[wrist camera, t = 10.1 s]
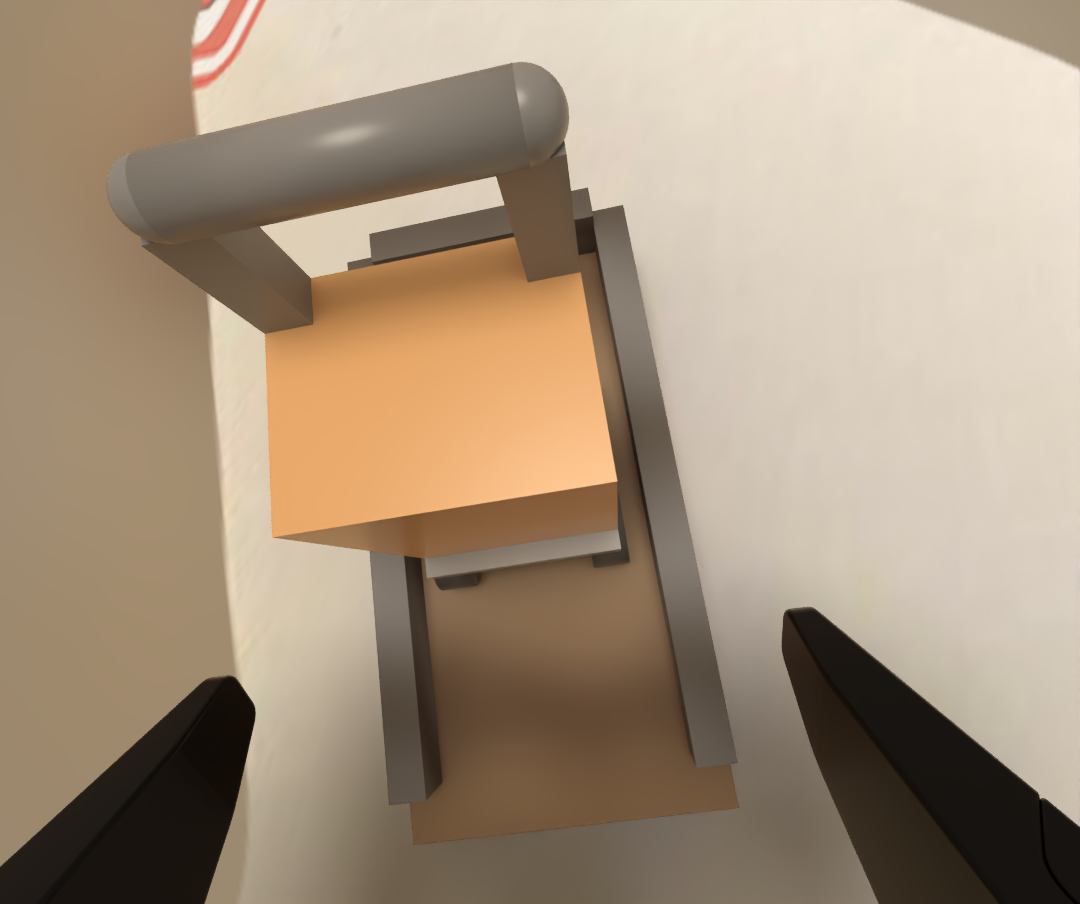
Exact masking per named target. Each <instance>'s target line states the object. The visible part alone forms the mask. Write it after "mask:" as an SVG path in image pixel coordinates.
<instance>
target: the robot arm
mask: <svg viewBox="0 0 1080 904" xmlns="http://www.w3.org/2000/svg"><path fill="white" fill-rule="evenodd" d="M782 653H783V657H784V661H785V664H786V668H787V671H788V674H789V677H790V680H791V683H792V687H793V690H794V693H795V696H796V699H797V702H798V706H799V709H800V712H801V715H802V718H803V722H804V725H805V728H806V731H807V734H808V737H809V741H810V744H811V747H812V750H813V753H814V755H815V758H816V761H817V763H818V766H819V768H820V771H821V773H822V775H823V778H824V780H825V782H826V784H827V787H828V789H829V791H830V794H831V796H832V798H833V800H834V803H835V805H836V807H837V810H838V812H839V814H840V816H841V819H842V821H843V823H844V826H845V828H846V830H847V832H848V835H849V837H850V839H851V842H852V844H853V846H854V848H855V851H856V853H857V855H858V857H859V860H860V862H861V864H862V867H863V869H864V871H865V873H866V876H867V878H868V880H869V883H870V885H871V887H872V889H873V892H874V894H875V896H876V899H877V901H878V903H879V904H1080V827H1079V826H1078V825H1077V824H1076V823H1074V822H1073V821H1072V820H1071V819H1070V818H1068V817H1067V816H1066V815H1065V814H1063V813H1062V812H1061V811H1060V810H1059V809H1057V808H1056V807H1055V806H1054V805H1053V804H1051V803H1050V802H1049V801H1048V800H1046V799H1044V798H1041V799H1040V798H1039V794H1038V792H1036V791H1035V790H1034V789H1033V788H1032V787H1030V786H1029V785H1028V784H1027V783H1026V782H1024V781H1023V780H1022V779H1021V778H1020V777H1018V776H1017V775H1016V774H1015V773H1013V772H1012V771H1011V770H1010V769H1009V768H1007V767H1006V766H1005V765H1004V764H1003V763H1001V762H1000V761H999V760H998V759H997V758H995V757H994V756H993V755H992V754H990V753H989V752H988V751H987V750H986V749H984V748H983V747H982V746H981V745H980V744H978V743H977V742H976V741H975V740H974V739H972V738H971V737H970V736H969V735H967V734H966V733H965V732H964V731H963V730H961V729H960V728H959V727H958V726H957V725H955V724H954V723H953V722H952V721H951V720H949V719H948V718H947V717H946V716H944V715H943V714H942V713H941V712H940V711H938V710H937V709H936V708H935V707H934V706H932V705H931V704H930V703H929V702H928V701H926V700H925V699H924V698H923V697H921V696H920V695H919V694H918V693H917V692H915V691H914V690H913V689H912V688H911V687H909V686H908V685H907V684H906V683H905V682H903V681H902V680H901V679H900V678H898V677H897V676H896V675H895V674H894V673H892V672H891V671H890V670H889V669H888V668H886V667H885V666H884V665H883V664H882V663H880V662H879V661H878V660H877V659H875V658H874V657H873V656H872V655H871V654H869V653H868V652H867V651H866V650H865V649H863V648H862V647H861V646H860V645H859V644H857V643H856V642H855V641H854V640H852V639H851V638H850V637H849V636H848V635H846V634H845V633H844V632H843V631H842V630H840V629H839V628H838V627H837V626H836V625H834V624H833V623H832V622H831V621H829V620H828V619H827V618H826V617H825V616H823V615H822V614H821V613H820V612H819V611H817V610H816V609H814V608H812V607H802V608H793V609H788V610H786V611H785V613H784V616H783V631H782ZM255 715H256V712H255V706H254V704H253V702H252V700H251V699H250V697H249V696H248V694H247V693H246V691H245V690H244V689H243V687H242V686H241V684H240V683H239V681H238V680H237V679H236V678H235V677H233V676H231V675H227V676H218V677H211V678H208V679H206V680H205V681H203V682H202V683H201V684H200V685H199V686H198V687H196V688H195V690H193V691H192V692H191V693H190V694H189V695H188V696H187V697H186V698H185V699H183V700H182V701H181V702H180V703H179V704H178V705H177V706H176V707H175V708H173V710H171V711H170V712H169V713H168V714H167V715H166V716H165V717H164V718H163V719H162V720H160V721H159V722H158V723H157V724H156V725H155V726H154V727H153V728H152V729H151V730H149V731H148V732H147V733H146V734H145V735H144V736H143V737H142V738H141V739H140V740H138V741H137V742H136V743H135V744H134V745H133V746H132V747H131V748H130V749H129V750H128V751H126V752H125V753H124V754H123V755H122V756H121V757H120V758H119V759H118V760H117V761H116V762H114V763H113V764H112V765H111V766H110V767H109V768H108V769H107V770H106V771H105V772H103V773H102V774H101V775H100V776H99V777H98V778H97V779H96V780H95V781H94V782H93V783H91V785H89V786H88V787H87V788H86V789H85V790H84V791H83V792H82V793H80V794H79V795H78V796H77V797H76V798H75V799H74V800H73V801H72V802H71V803H70V804H68V805H67V806H66V807H65V808H64V809H63V810H62V811H61V812H60V813H59V814H57V815H56V816H55V817H54V818H53V819H52V820H51V821H50V822H49V823H48V824H47V825H45V826H44V827H43V828H42V829H41V830H40V831H39V832H38V833H37V834H36V835H35V836H33V837H32V838H31V839H30V840H29V841H28V842H27V843H26V844H25V845H24V846H22V847H21V848H20V849H19V850H18V851H17V852H16V853H15V854H14V855H13V856H11V858H9V859H8V860H7V861H6V862H5V863H4V864H3V865H2V866H1V867H0V904H204V903H205V901H206V898H207V894H208V891H209V888H210V885H211V882H212V879H213V876H214V873H215V870H216V867H217V864H218V861H219V857H220V855H221V851H222V848H223V845H224V842H225V839H226V836H227V833H228V830H229V827H230V823H231V820H232V817H233V813H234V810H235V806H236V801H237V798H238V793H239V789H240V785H241V780H242V776H243V771H244V767H245V762H246V758H247V754H248V749H249V745H250V740H251V736H252V731H253V727H254V722H255Z"/></svg>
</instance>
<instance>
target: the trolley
mask: <svg viewBox="0 0 1080 904" xmlns="http://www.w3.org/2000/svg"><path fill="white" fill-rule="evenodd" d="M568 123H569V108H568V103H567V99H566V96H565V94H564V91H563V89H562V87H561V86H560V84H559V83H558V81H557V80H556V78H555V77H554V76H553V75H552V74H551V73H550V72H548V71H547V70H545V69H544V68H542V67H541V66H538V65H535V64H533V63H527V62H516V63H510V64H506V65H501V66H497V67H493V68H488V69H484V70H480V71H475V72H471V73H467V74H462V75H458V76H454V77H449V78H445V79H441V80H436V81H432V82H428V83H423V84H419V85H415V86H411V87H406V88H402V89H398V90H393V91H389V92H385V93H380V94H376V95H372V96H367V97H363V98H359V99H354V100H350V101H346V102H341V103H337V104H333V105H328V106H324V107H320V108H315V109H311V110H307V111H302V112H298V113H294V114H289V115H285V116H281V117H276V118H272V119H268V120H263V121H259V122H255V123H250V124H246V125H242V126H237V127H233V128H229V129H224V130H220V131H216V132H211V133H207V134H203V135H198V136H194V137H190V138H186V139H181V140H177V141H173V142H168V143H164V144H160V145H156V146H151V147H147V148H142V149H138V150H134V151H132V152H129V153H127V154H124V155H123V156H122V157H120V158H119V159H118V160H117V161H116V162H115V163H114V164H113V166H112V167H111V169H110V171H109V173H108V177H107V182H106V190H107V197H108V201H109V204H110V206H111V208H112V210H113V212H114V213H115V215H116V216H117V218H118V219H119V220H120V221H121V222H122V223H123V224H124V226H125V227H127V228H128V229H129V230H130V231H131V232H133V233H135V234H136V235H138V236H140V237H141V246H142V247H144V248H145V249H146V250H148V251H149V252H151V253H152V254H153V255H155V256H156V257H158V258H159V259H161V260H162V261H163V262H165V263H166V264H168V265H169V266H170V267H172V268H173V269H175V270H176V271H177V272H179V273H180V274H182V275H183V276H184V277H186V278H187V279H189V280H190V281H191V282H193V283H194V284H196V285H197V286H198V287H200V288H201V289H203V290H204V291H205V292H207V293H208V294H210V295H211V296H212V297H214V298H215V299H217V300H218V301H219V302H221V303H222V304H224V305H225V306H227V307H228V308H229V309H231V310H232V311H234V312H235V313H236V314H238V315H239V316H241V317H242V318H243V319H245V320H246V321H248V322H249V323H250V324H252V325H253V326H255V327H256V328H257V329H259V330H260V331H262V332H263V333H264V334H265V347H266V375H267V404H268V432H269V460H270V489H271V517H272V537H273V538H280V539H287V540H294V541H302V542H309V543H316V544H323V545H330V546H338V547H345V548H352V549H359V550H366V551H374V552H381V553H388V554H395V555H402V556H410V557H417V558H424V559H425V564H426V574H427V578H433V579H434V580H435V583H436V585H437V586H438V588H439V589H440V590H442V591H444V590H451V589H457V588H464V587H471V586H477V585H478V584H479V583H480V579H481V572H486V571H493V570H499V569H506V568H512V567H519V566H526V565H532V564H539V563H545V562H552V561H559V560H565V559H572V558H578V557H585V556H592V561H593V565H594V568H598V567H605V566H611V565H618V564H625V563H630V558H629V551H628V545H627V538H626V532H625V526H624V521H623V515H622V510H621V505H620V500H619V495H618V492H617V477H616V471H615V465H614V460H613V454H612V448H611V442H610V437H609V431H608V425H607V420H606V414H605V408H604V403H603V397H602V391H601V385H600V380H599V374H598V368H597V363H596V357H595V351H594V346H593V340H592V334H591V328H590V323H589V317H588V311H587V306H586V300H585V294H584V289H583V283H582V277H581V271H580V263H579V255H578V246H577V238H576V230H575V221H574V213H573V205H572V197H571V188H570V180H569V172H568V163H567V155H566V149H565V144H564V139H565V137H566V133H567V130H568ZM494 176H496V177H497V180H498V184H499V187H500V190H501V194H502V197H503V201H504V204H505V207H506V211H507V214H508V217H509V221H510V224H511V227H512V231H513V234H514V237H512V238H507V239H502V240H497V241H492V242H487V243H482V244H478V245H473V246H468V247H463V248H458V249H453V250H448V251H443V252H438V253H433V254H428V255H423V256H419V257H414V258H409V259H404V260H399V261H394V262H389V263H384V264H379V265H374V266H369V267H365V268H360V269H355V270H350V271H345V272H340V273H335V274H330V275H325V276H320V277H315V278H310V277H309V276H308V275H307V274H306V273H305V272H304V271H303V270H302V269H301V268H300V267H299V266H298V265H297V264H296V263H295V262H294V261H293V260H292V259H291V258H290V257H289V256H288V255H287V254H286V253H285V252H284V251H283V250H282V249H281V248H280V247H279V246H278V245H277V244H276V243H275V242H274V241H273V240H272V239H271V238H270V237H269V236H268V235H267V234H266V233H265V232H264V231H263V230H262V229H261V228H260V226H264V225H269V224H274V223H279V222H283V221H288V220H293V219H297V218H302V217H307V216H311V215H316V214H321V213H325V212H330V211H335V210H339V209H344V208H349V207H353V206H358V205H363V204H367V203H372V202H377V201H381V200H386V199H391V198H395V197H400V196H405V195H410V194H414V193H419V192H424V191H428V190H433V189H438V188H442V187H447V186H452V185H456V184H461V183H466V182H470V181H475V180H480V179H484V178H489V177H494Z"/></svg>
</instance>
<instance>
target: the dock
mask: <svg viewBox="0 0 1080 904" xmlns="http://www.w3.org/2000/svg"><path fill="white" fill-rule="evenodd" d="M571 197H572V205H573V213H574V221H575V230H576V238H577V246H578V255H579V263H580V271H581V277H582V283H583V289H584V294H585V300H586V306H587V311H588V317H589V323H590V328H591V334H592V340H593V346H594V351H595V357H596V363H597V368H598V374H599V380H600V385H601V391H602V397H603V403H604V408H605V414H606V420H607V425H608V431H609V437H610V442H611V448H612V454H613V460H614V465H615V471H616V477H617V492H618V495H619V500H620V505H621V510H622V515H623V521H624V526H625V532H626V538H627V545H628V551H629V558H630V563H625V564H618V565H611V566H605V567H598V568H594V565H593V561H592V556H585V557H578V558H572V559H565V560H559V561H552V562H545V563H539V564H532V565H526V566H519V567H512V568H506V569H499V570H493V571H486V572H481V579H480V583H479V584H478V585H477V586H471V587H464V588H457V589H451V590H444V591H442V590H440V589H439V588H438V586H437V585H436V583H435V580H434V579H433V578H427V574H426V564H425V559H424V558H417V557H410V556H402V555H395V554H388V553H381V552H374V551H370V562H371V575H372V588H373V601H374V614H375V627H376V640H377V652H378V665H379V678H380V691H381V704H382V717H383V730H384V743H385V756H386V769H387V782H388V795H389V805H394V804H402V803H410V806H411V818H412V830H413V841H414V845H417V844H426V843H435V842H443V841H452V840H461V839H470V838H479V837H487V836H496V835H505V834H514V833H522V832H531V831H540V830H549V829H558V828H566V827H575V826H584V825H593V824H601V823H610V822H619V821H628V820H637V819H645V818H654V817H663V816H672V815H681V814H689V813H698V812H707V811H716V810H724V809H733V808H739V806H738V801H737V796H736V791H735V786H734V781H733V776H732V771H731V766H730V764H734V763H737V759H736V754H735V749H734V744H733V739H732V735H731V730H730V725H729V720H728V715H727V710H726V705H725V700H724V695H723V691H722V686H721V681H720V676H719V671H718V666H717V661H716V656H715V652H714V647H713V642H712V637H711V632H710V627H709V622H708V617H707V613H706V608H705V603H704V598H703V593H702V588H701V583H700V578H699V574H698V569H697V564H696V559H695V554H694V549H693V544H692V539H691V534H690V530H689V525H688V520H687V515H686V510H685V505H684V500H683V495H682V491H681V486H680V481H679V476H678V471H677V466H676V461H675V456H674V452H673V447H672V442H671V437H670V432H669V427H668V422H667V417H666V413H665V408H664V403H663V398H662V393H661V388H660V383H659V378H658V373H657V369H656V364H655V359H654V354H653V349H652V344H651V339H650V334H649V330H648V325H647V320H646V315H645V310H644V305H643V300H642V295H641V291H640V286H639V281H638V276H637V271H636V266H635V261H634V256H633V252H632V247H631V242H630V237H629V232H628V227H627V222H626V217H625V212H624V208H623V205H621V206H616V207H611V208H607V209H602V210H597V211H592V207H591V202H590V197H589V192H588V188H584V189H579V190H574V191H571ZM369 235H370V247H371V258H367V259H362V260H357V261H353V262H348V263H347V264H348V271H350V270H355V269H360V268H365V267H369V266H374V265H379V264H384V263H389V262H394V261H399V260H404V259H409V258H414V257H419V256H423V255H428V254H433V253H438V252H443V251H448V250H453V249H458V248H463V247H468V246H473V245H478V244H482V243H487V242H492V241H497V240H502V239H507V238H512V237H514V234H513V231H512V227H511V224H510V221H509V217H508V214H507V211H506V207H505V205H504V206H499V207H494V208H490V209H485V210H480V211H476V212H471V213H466V214H461V215H457V216H452V217H447V218H443V219H438V220H433V221H429V222H424V223H419V224H414V225H410V226H405V227H400V228H396V229H391V230H386V231H381V232H377V233H372V234H369Z"/></svg>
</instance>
